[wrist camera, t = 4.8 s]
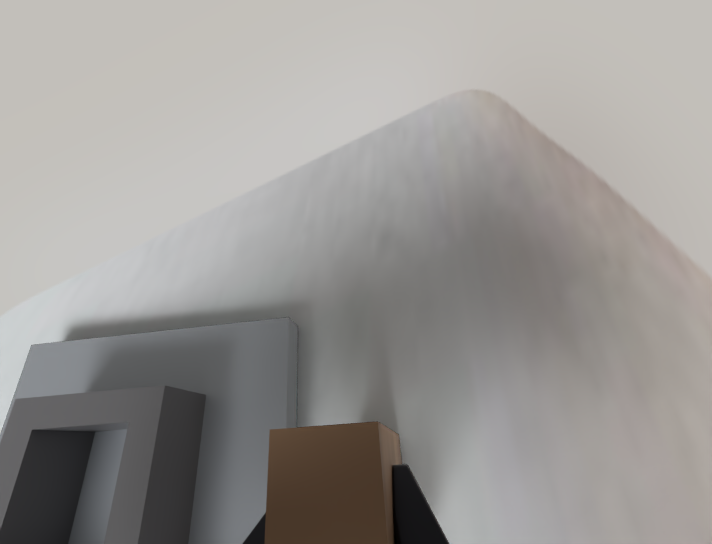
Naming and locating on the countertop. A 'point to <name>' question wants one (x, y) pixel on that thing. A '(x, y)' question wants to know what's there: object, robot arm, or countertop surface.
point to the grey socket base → (147, 435)
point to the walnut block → (331, 484)
